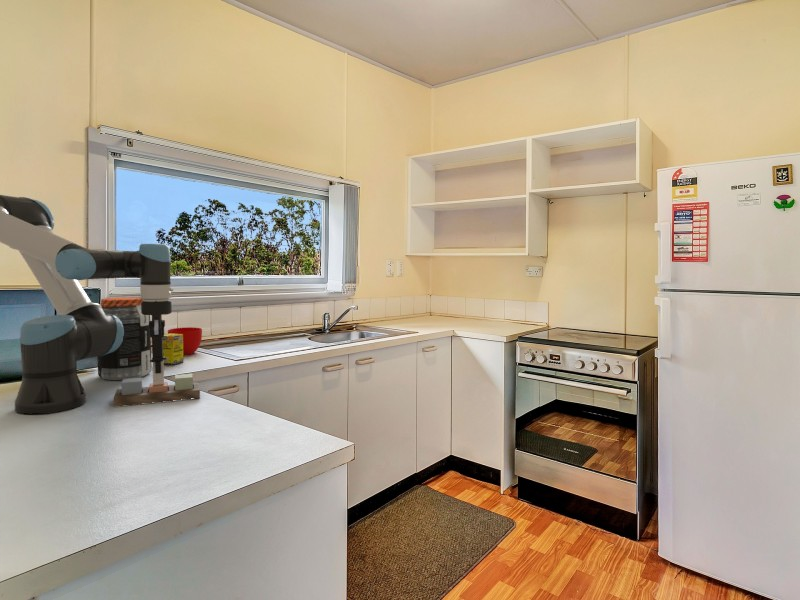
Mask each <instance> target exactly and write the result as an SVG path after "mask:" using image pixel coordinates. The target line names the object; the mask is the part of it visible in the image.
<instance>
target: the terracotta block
mask: <svg viewBox="0 0 800 600" xmlns="http://www.w3.org/2000/svg"><path fill="white" fill-rule="evenodd" d="M168 383H169V382H168V381H164V384H160V385H153V382H151V383H149V384H148V387H149V393H153V392H164V391H168V385H169V384H168Z"/></svg>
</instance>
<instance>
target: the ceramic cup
mask: <svg viewBox="0 0 800 600" xmlns="http://www.w3.org/2000/svg"><path fill="white" fill-rule="evenodd" d="M167 334H183V356H185V355H186V356H187V355H193V354H195V352H196V351H197V350H198V349H199V348H200V345H201V342H202V337H203V329H202V328H201V327H192V326H191V327H175V328H170V329H168V330H167Z"/></svg>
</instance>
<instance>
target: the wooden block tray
mask: <svg viewBox="0 0 800 600" xmlns="http://www.w3.org/2000/svg"><path fill="white" fill-rule="evenodd" d="M191 398H200V399H201V389H200V383H199V382H193V389H187V390H175V384H168V391H164V392H153V393H149V386H142V393H141V394H130V395H122V389H121V388H119V389H116V392H115V394H114V395H113V407H114V406H120V407H124V406H123V405H130V406H134V405H133V404H140V405H143V404H142V403H151V404H153V403H152V402H161V403H164V402H163V401H171V402H174V401H173V400H181V399H191Z"/></svg>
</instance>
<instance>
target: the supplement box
mask: <svg viewBox="0 0 800 600" xmlns="http://www.w3.org/2000/svg"><path fill="white" fill-rule="evenodd" d="M163 353H164V355H163V357H166V359H165V360H164V366H175V365H179V364H182V363H184V355H183V334H168V333H166V334H164V337H163Z"/></svg>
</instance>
